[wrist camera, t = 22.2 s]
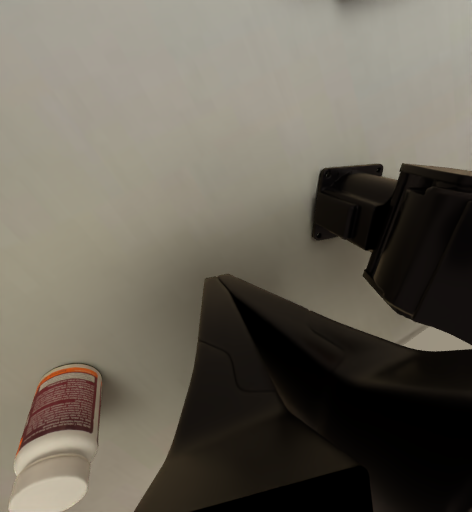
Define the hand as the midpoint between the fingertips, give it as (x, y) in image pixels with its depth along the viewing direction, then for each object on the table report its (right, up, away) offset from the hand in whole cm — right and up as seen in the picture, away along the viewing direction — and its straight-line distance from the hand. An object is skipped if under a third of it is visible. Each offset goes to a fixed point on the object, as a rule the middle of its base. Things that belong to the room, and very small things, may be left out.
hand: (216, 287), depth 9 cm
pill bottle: (-13, -10, +14) cm, 22 cm away
